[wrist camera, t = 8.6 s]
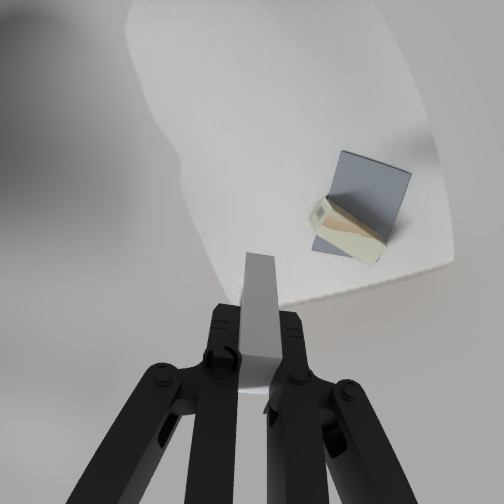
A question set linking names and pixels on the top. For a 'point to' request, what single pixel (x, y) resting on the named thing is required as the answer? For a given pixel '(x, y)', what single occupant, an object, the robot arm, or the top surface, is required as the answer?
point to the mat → (365, 195)
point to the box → (346, 232)
